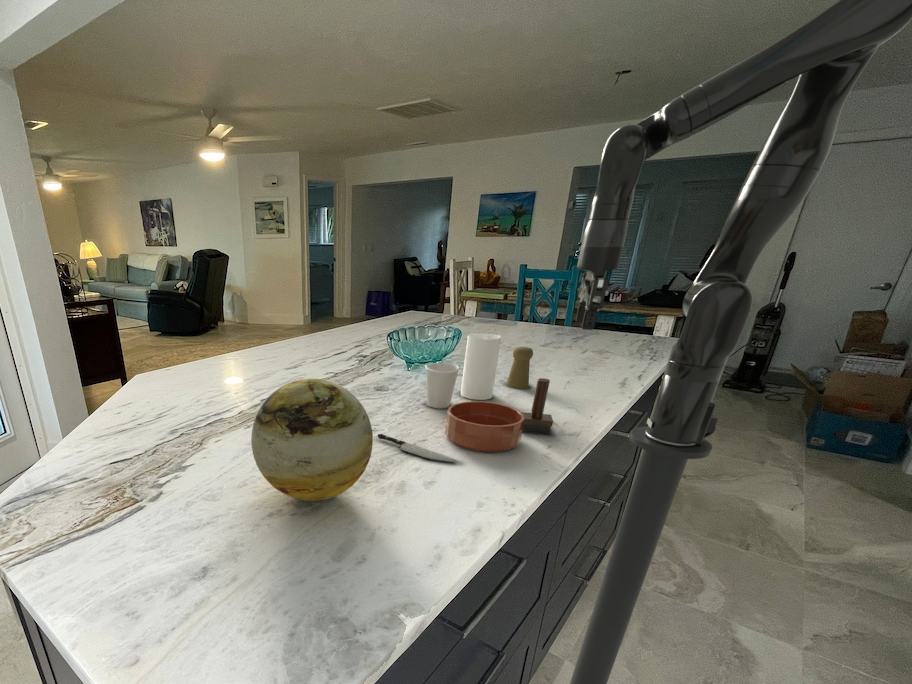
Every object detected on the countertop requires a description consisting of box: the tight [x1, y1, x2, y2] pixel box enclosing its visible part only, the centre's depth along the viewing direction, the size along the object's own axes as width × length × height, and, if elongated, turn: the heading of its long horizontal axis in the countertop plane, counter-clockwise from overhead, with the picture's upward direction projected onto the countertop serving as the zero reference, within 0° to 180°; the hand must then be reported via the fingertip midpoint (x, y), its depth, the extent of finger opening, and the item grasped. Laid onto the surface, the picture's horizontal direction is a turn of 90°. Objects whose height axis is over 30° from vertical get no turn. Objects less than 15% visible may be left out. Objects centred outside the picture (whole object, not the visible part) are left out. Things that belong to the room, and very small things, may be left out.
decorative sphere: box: [250, 378, 374, 502], centre depth 77 cm, size 20×20×20 cm
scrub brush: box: [520, 377, 554, 436], centre depth 103 cm, size 6×4×12 cm
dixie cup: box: [424, 362, 460, 409], centre depth 119 cm, size 8×8×10 cm
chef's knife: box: [377, 433, 461, 463], centre depth 95 cm, size 19×1×3 cm
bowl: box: [444, 400, 525, 453], centre depth 99 cm, size 15×15×6 cm
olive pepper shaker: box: [506, 346, 534, 389], centre depth 133 cm, size 6×6×11 cm
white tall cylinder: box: [460, 332, 502, 401], centre depth 124 cm, size 8×8×16 cm
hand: (583, 325), depth 102 cm, fingers open, 8 cm apart
